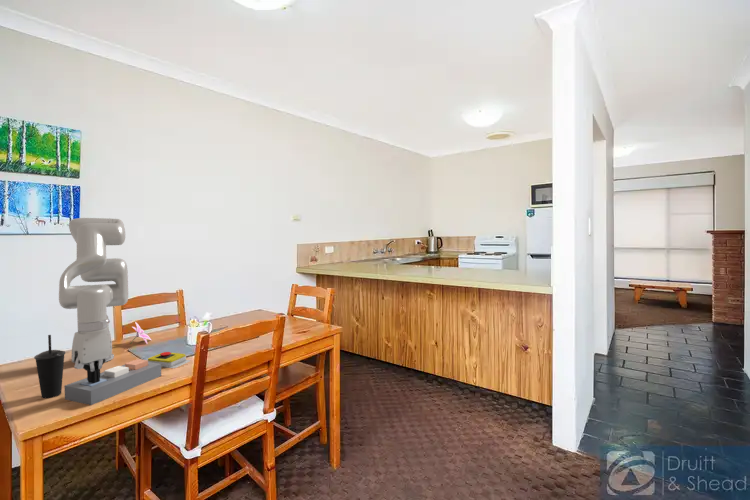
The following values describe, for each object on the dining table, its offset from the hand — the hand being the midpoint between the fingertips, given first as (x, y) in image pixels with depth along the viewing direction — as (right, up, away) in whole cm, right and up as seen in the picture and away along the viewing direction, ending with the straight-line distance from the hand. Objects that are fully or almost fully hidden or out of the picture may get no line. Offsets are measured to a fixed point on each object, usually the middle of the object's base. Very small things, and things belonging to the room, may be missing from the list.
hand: (94, 381), depth 120 cm
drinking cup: (-14, -5, 0) cm, 15 cm away
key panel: (+2, -4, +7) cm, 9 cm away
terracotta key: (+5, -1, +14) cm, 15 cm away
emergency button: (+7, -4, +31) cm, 32 cm away
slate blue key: (0, -3, 0) cm, 3 cm away
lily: (-22, -2, +58) cm, 62 cm away
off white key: (+2, -1, +7) cm, 8 cm away
